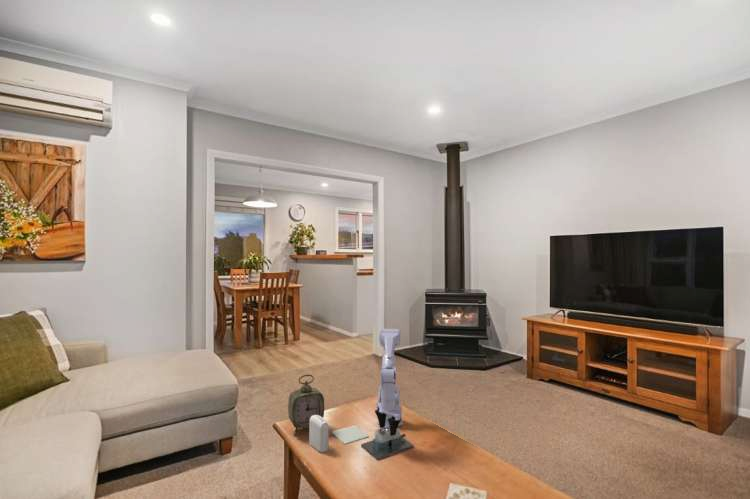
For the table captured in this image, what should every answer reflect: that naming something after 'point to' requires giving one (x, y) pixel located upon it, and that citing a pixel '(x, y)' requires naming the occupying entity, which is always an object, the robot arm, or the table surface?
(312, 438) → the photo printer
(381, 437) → the gray rectangular frame
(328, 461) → the table surface
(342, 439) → the sage mat
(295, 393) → the tabletop clock
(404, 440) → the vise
